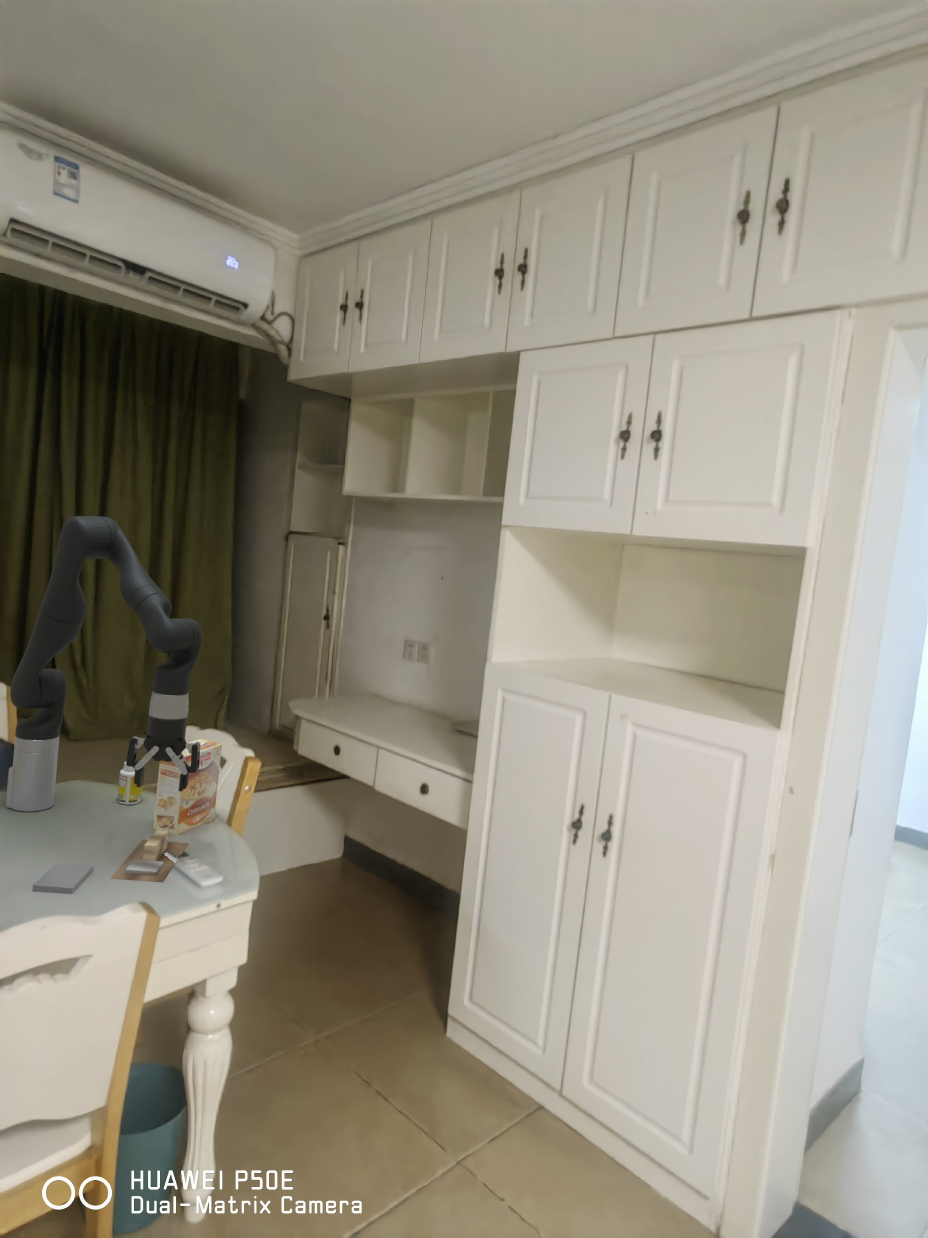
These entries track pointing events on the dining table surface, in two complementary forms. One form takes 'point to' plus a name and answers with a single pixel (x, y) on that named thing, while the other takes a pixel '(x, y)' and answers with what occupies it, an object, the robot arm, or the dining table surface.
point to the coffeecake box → (188, 791)
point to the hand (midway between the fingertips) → (160, 788)
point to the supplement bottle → (128, 787)
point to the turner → (151, 855)
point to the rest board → (172, 847)
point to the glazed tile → (63, 878)
